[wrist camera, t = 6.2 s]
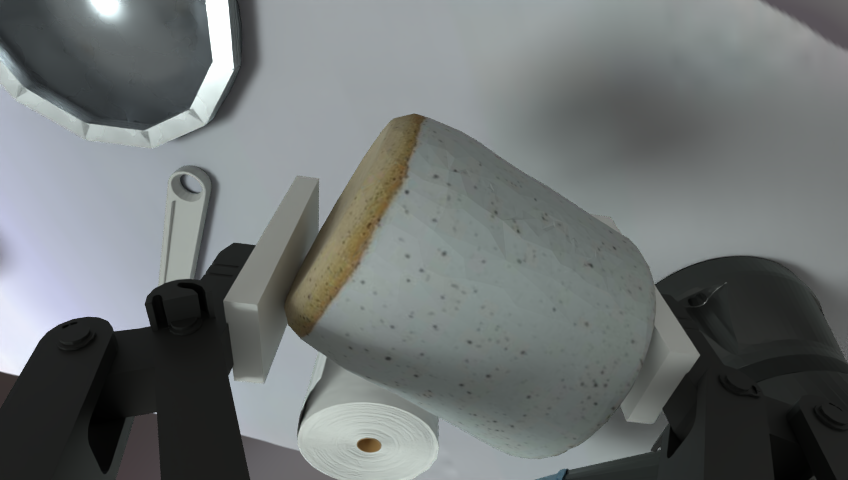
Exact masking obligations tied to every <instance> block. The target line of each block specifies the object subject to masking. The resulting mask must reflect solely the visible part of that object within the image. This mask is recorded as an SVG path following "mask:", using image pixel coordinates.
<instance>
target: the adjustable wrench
mask: <svg viewBox="0 0 848 480" xmlns="http://www.w3.org/2000/svg"><path fill="white" fill-rule="evenodd" d="M184 174H186V175H190V176H192V177H194V178H195V179H196V180H197V181H198V182H199V183H200V184H201V186H202V191H201V192H200V193H198V194H195V193H191V192H189V191H187V190H186V189H185V188H184V187H183V186H182V184H181V182H180V177H181V176H182V175H184ZM211 188H212V186H211V181H210V178H209V177H208V175H207V174H206V173H205V172H204V171H202V170H201V169H199V168H197V167H195V166H190V165H189V166H183V167H181V168H179V169H178V170H177V171H176V172H174V173H173V174H172V175H171V176H170V178H169V181H168V189H167V199H166V210H165V221H164V231H163V242H162V252H161V263H160V274H159V284H158V287H159V286H160V285H162V284H164V283H167V282H170V281H174V280H179V279H193V280H194V277H195V272H196V266H197V261H198V256H199V251H200V246H201V240H202V235H203V230H204V225H205V220H206V214H207V209H208V204H209V199H210V193H211Z"/></svg>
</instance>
